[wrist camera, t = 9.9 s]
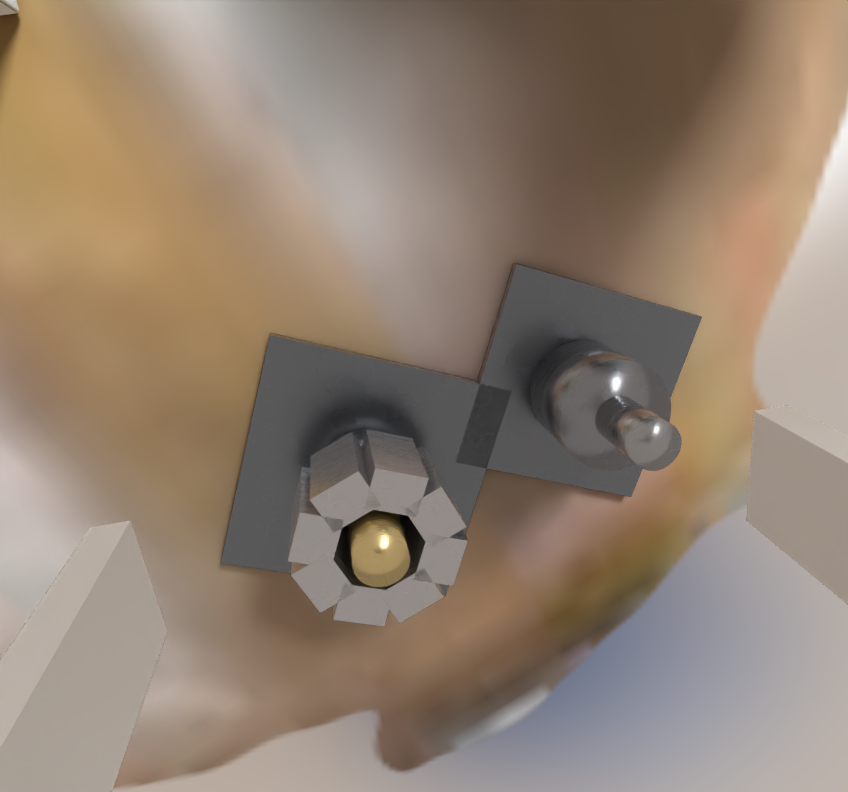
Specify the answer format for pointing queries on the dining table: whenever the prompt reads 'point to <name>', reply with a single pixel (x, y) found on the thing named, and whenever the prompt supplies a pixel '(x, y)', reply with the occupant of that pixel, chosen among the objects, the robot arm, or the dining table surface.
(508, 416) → the stand
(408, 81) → the dining table surface
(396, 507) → the ring
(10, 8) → the tea box
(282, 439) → the hub
